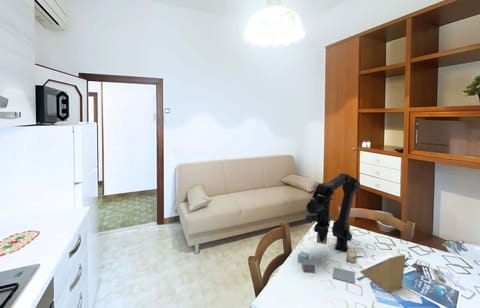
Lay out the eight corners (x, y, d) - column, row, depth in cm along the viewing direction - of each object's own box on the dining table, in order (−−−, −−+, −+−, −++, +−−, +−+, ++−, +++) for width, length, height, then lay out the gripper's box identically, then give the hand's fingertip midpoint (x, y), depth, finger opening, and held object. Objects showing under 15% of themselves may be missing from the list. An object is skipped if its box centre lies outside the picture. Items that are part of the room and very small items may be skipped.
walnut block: (317, 238, 129) (318, 229, 128) (327, 240, 127) (327, 231, 126) (316, 242, 125) (317, 232, 124) (326, 244, 123) (326, 234, 122)
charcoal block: (301, 266, 121) (302, 258, 120) (312, 267, 120) (312, 259, 120) (303, 272, 116) (304, 264, 115) (314, 273, 115) (315, 265, 115)
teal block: (301, 258, 128) (301, 251, 127) (308, 261, 125) (308, 253, 125) (297, 261, 125) (297, 254, 124) (305, 264, 122) (305, 257, 122)
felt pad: (334, 267, 119) (334, 267, 119) (354, 272, 116) (354, 271, 116) (332, 278, 111) (332, 277, 111) (354, 283, 108) (354, 283, 108)
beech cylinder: (346, 257, 129) (347, 248, 128) (355, 259, 127) (356, 250, 126) (346, 262, 125) (347, 252, 124) (356, 264, 123) (356, 254, 122)
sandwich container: (372, 268, 120) (375, 238, 118) (402, 288, 106) (405, 254, 104) (358, 271, 117) (360, 241, 115) (387, 292, 103) (390, 258, 101)
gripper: (309, 202, 136) (308, 229, 137) (303, 212, 119) (302, 244, 120) (331, 205, 131) (330, 233, 133) (328, 216, 114) (326, 249, 116)
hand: (322, 239), depth 126 cm, fingers closed on walnut block, 4 cm apart
